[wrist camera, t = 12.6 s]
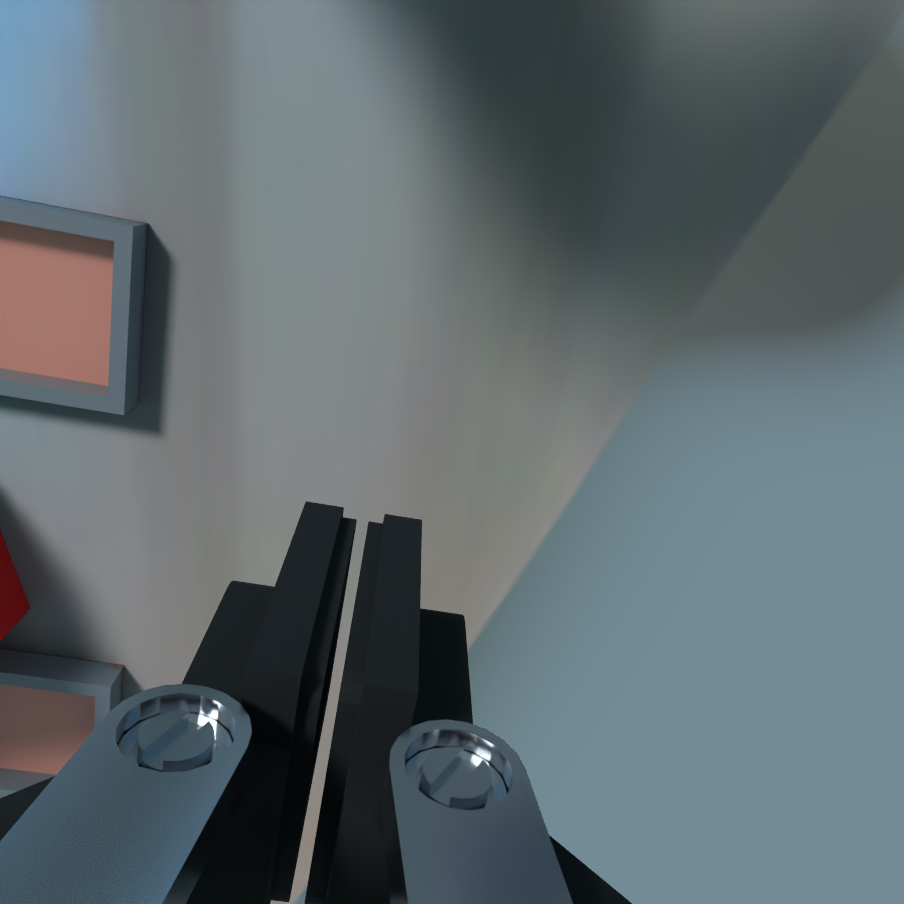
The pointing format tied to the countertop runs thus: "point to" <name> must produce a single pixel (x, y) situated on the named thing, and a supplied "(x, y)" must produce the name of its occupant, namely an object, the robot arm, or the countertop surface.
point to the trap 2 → (70, 306)
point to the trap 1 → (49, 712)
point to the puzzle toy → (10, 593)
